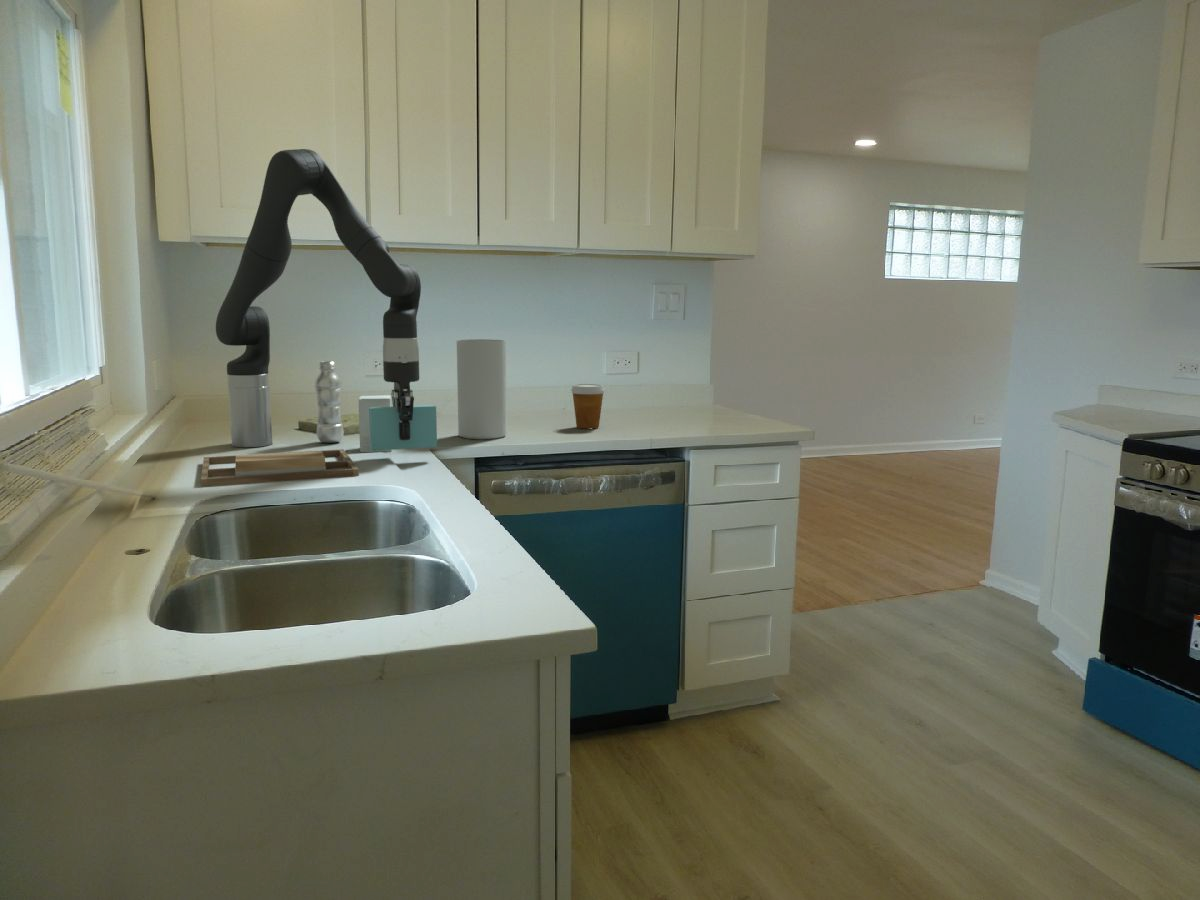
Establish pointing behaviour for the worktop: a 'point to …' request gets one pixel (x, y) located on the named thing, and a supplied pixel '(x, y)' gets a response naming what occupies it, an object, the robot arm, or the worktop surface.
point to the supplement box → (364, 427)
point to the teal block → (387, 428)
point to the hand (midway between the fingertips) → (403, 438)
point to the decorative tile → (348, 422)
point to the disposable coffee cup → (587, 404)
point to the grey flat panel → (278, 471)
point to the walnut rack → (276, 477)
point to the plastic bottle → (328, 404)
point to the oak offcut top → (279, 461)
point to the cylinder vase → (481, 388)
